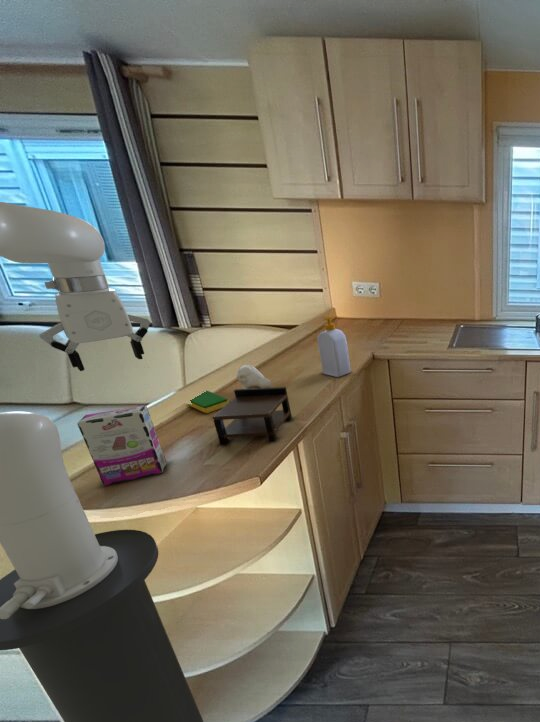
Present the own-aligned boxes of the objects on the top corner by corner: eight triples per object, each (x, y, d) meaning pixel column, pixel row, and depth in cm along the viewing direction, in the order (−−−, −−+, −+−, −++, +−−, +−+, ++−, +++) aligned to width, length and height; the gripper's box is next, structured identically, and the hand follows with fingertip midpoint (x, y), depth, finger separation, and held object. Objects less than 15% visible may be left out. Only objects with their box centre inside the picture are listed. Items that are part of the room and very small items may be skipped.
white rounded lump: (248, 361, 147) (274, 368, 144) (251, 383, 150) (277, 389, 147) (232, 367, 142) (259, 374, 138) (236, 389, 145) (263, 396, 142)
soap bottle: (352, 372, 162) (345, 316, 154) (338, 377, 157) (329, 319, 148) (337, 368, 166) (328, 313, 158) (322, 373, 161) (313, 316, 152)
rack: (275, 441, 111) (267, 407, 108) (220, 444, 110) (210, 410, 106) (292, 418, 124) (285, 387, 121) (243, 421, 123) (235, 389, 119)
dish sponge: (206, 413, 127) (204, 406, 126) (185, 404, 134) (183, 397, 133) (230, 405, 133) (228, 398, 132) (208, 396, 140) (206, 390, 139)
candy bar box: (167, 463, 101) (147, 403, 95) (163, 473, 97) (141, 412, 91) (109, 475, 96) (84, 413, 91) (102, 486, 92) (75, 422, 86)
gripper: (22, 292, 74) (58, 378, 81) (141, 282, 87) (164, 357, 93) (18, 288, 79) (52, 370, 85) (132, 279, 92) (154, 351, 98)
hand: (111, 363), depth 89 cm, fingers open, 9 cm apart
